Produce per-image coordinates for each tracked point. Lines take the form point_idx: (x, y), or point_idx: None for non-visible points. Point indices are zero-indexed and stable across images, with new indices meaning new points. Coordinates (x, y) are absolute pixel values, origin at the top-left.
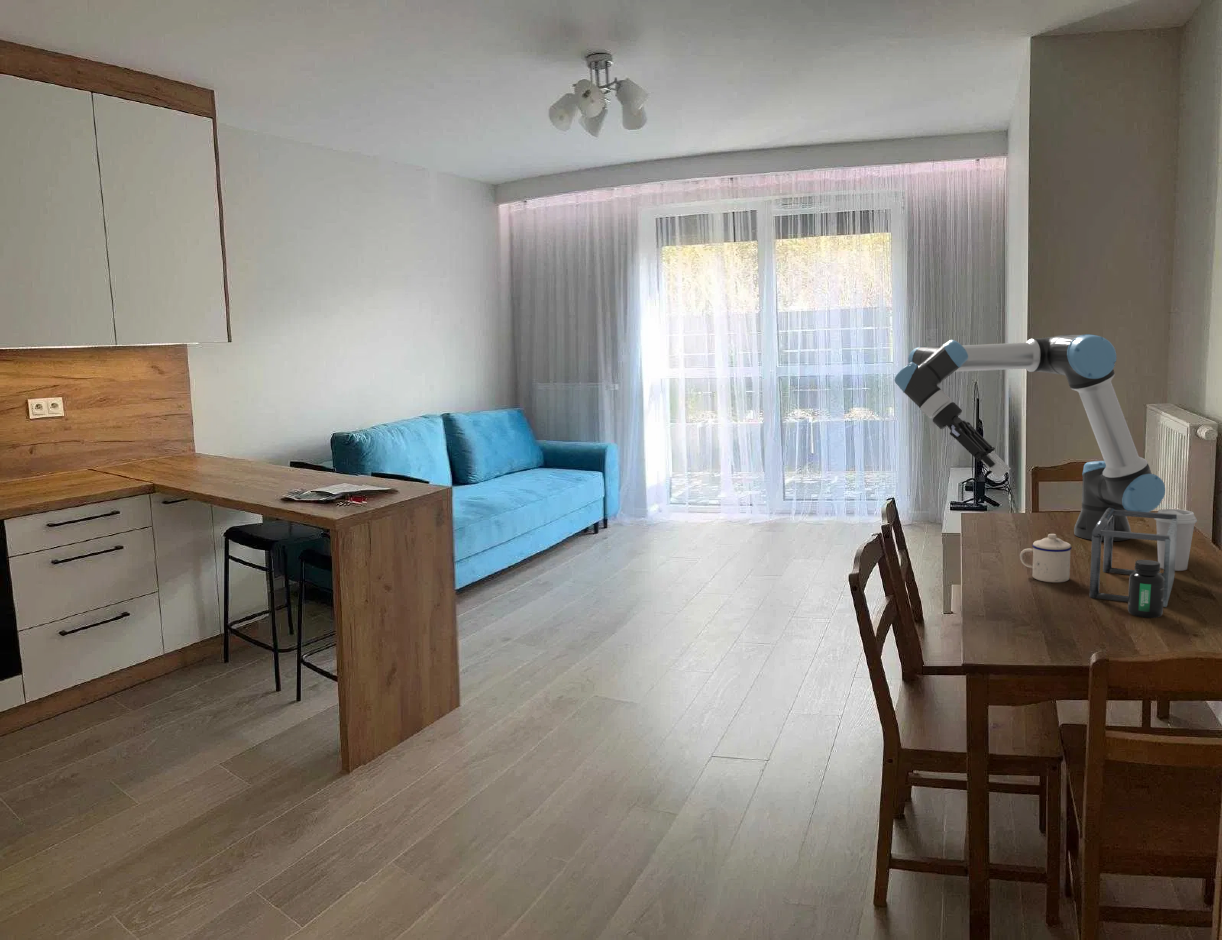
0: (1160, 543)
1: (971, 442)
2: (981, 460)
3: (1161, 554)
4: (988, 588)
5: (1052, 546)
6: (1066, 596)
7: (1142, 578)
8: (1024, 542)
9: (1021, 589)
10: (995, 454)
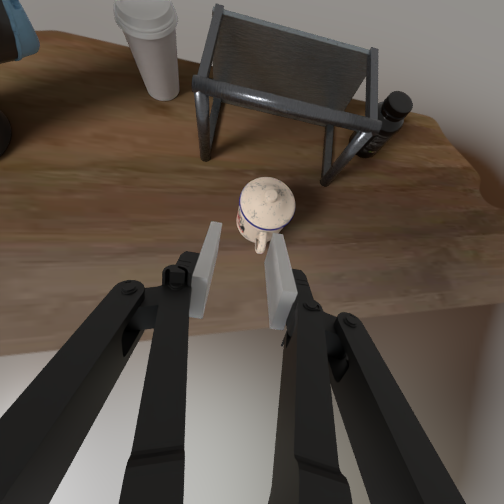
0: (165, 71)
1: (405, 407)
2: (283, 327)
3: (169, 84)
4: (334, 295)
5: (292, 201)
6: (332, 209)
7: (403, 121)
8: (31, 254)
9: (323, 256)
10: (211, 265)
